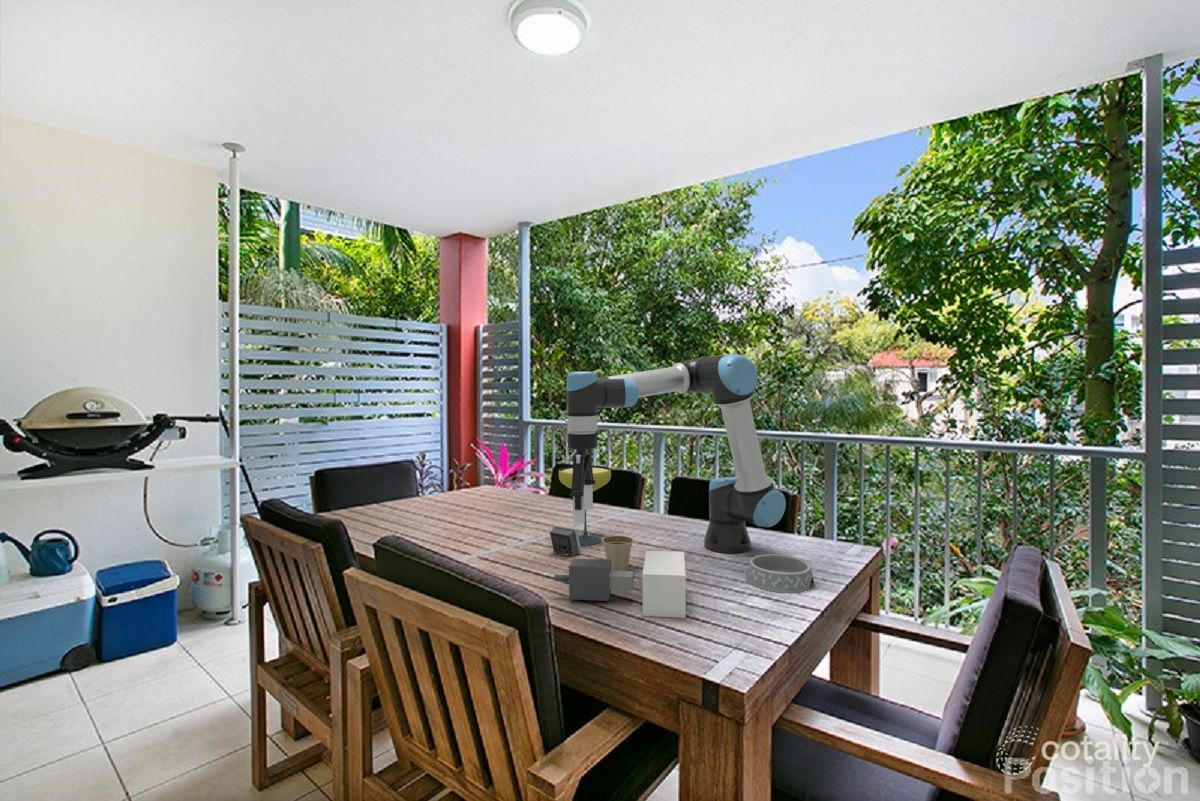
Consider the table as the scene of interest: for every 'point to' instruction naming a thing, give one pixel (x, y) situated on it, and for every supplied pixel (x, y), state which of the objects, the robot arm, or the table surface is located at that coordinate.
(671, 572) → the white rectangular block
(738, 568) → the table surface
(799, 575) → the dog bowl
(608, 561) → the plug
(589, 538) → the cocktail glass
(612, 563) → the flower pot
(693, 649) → the table surface
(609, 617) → the table surface
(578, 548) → the electrical switch
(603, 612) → the table surface
